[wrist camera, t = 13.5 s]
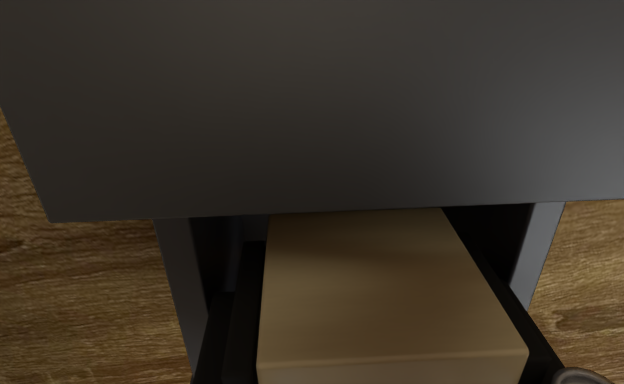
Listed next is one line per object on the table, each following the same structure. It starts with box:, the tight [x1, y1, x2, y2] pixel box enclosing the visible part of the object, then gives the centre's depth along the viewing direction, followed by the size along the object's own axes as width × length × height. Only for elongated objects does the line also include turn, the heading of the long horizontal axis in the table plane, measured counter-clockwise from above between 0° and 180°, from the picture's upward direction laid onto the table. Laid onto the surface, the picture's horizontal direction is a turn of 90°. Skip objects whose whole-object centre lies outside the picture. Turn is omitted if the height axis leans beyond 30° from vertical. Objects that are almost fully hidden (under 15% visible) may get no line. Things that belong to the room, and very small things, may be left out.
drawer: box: [152, 202, 566, 384], centre depth 14 cm, size 17×10×8 cm, turn 1°
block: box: [256, 207, 529, 384], centre depth 9 cm, size 4×4×4 cm
